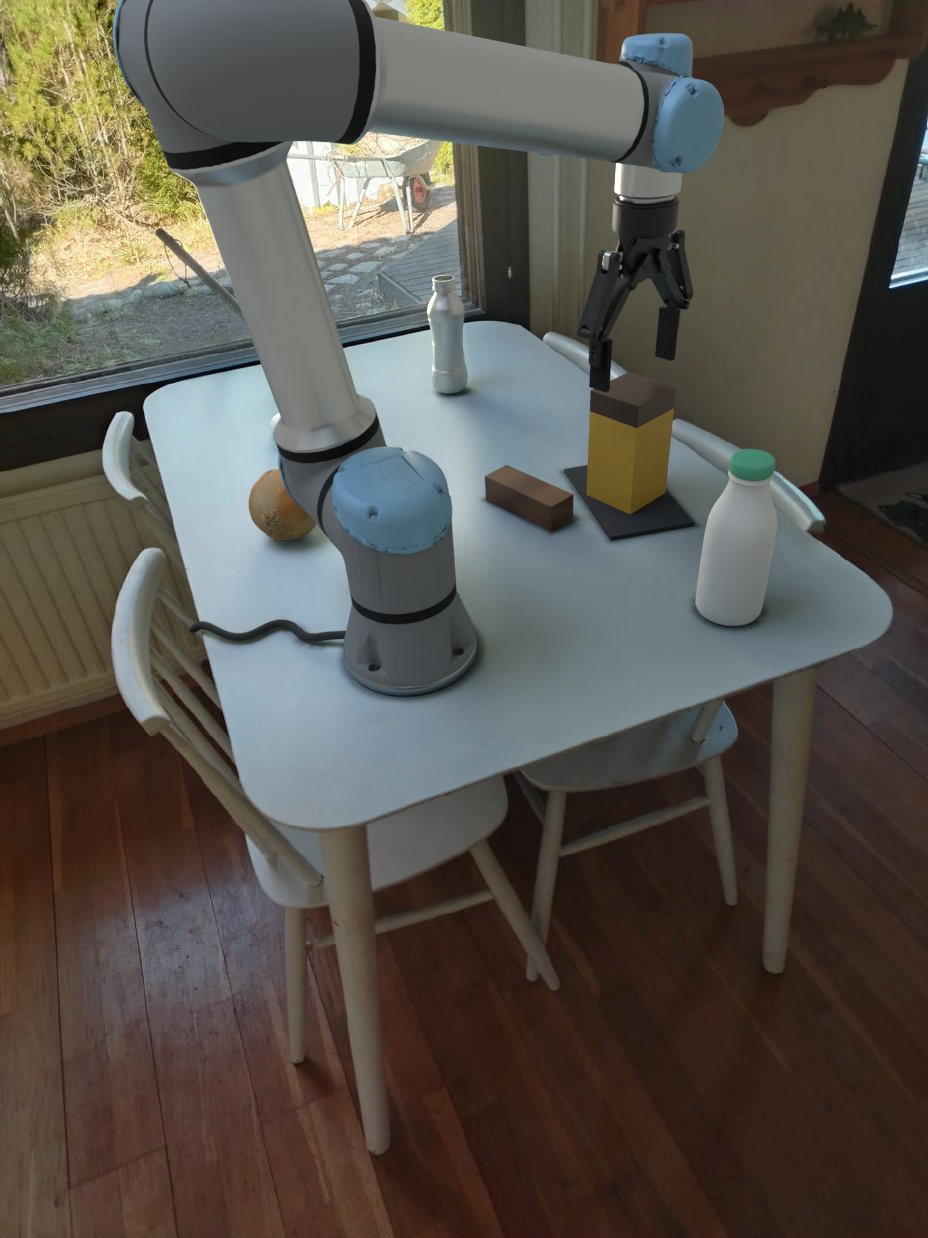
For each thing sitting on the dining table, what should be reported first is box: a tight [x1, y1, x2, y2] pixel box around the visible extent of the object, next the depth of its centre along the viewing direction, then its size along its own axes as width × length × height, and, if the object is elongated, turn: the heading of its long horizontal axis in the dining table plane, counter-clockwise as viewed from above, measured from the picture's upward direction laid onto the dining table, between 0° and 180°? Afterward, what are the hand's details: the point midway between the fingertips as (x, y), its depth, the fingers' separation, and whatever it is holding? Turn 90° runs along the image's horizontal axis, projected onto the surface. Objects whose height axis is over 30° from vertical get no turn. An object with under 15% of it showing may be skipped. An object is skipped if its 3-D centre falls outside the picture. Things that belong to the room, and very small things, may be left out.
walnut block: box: [484, 464, 575, 533], centre depth 121 cm, size 13×4×4 cm, turn 43°
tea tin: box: [587, 371, 677, 514], centre depth 118 cm, size 16×8×8 cm
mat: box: [563, 464, 695, 541], centre depth 123 cm, size 12×20×1 cm, turn 13°
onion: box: [248, 468, 317, 541], centre depth 117 cm, size 10×10×10 cm
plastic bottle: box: [426, 274, 469, 394], centre depth 150 cm, size 6×7×20 cm
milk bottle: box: [694, 448, 778, 627], centre depth 96 cm, size 8×8×20 cm
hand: (633, 373), depth 111 cm, fingers open, 13 cm apart
